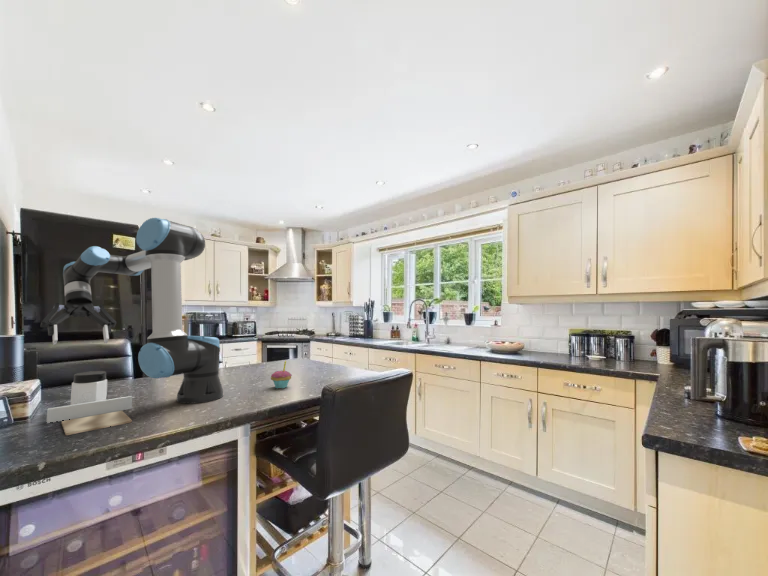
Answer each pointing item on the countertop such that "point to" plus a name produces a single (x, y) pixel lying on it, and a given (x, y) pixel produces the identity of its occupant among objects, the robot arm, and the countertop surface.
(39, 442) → the countertop surface
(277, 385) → the cupcake
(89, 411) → the acrylic wall
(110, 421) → the oak board
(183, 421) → the countertop surface
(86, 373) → the jar
